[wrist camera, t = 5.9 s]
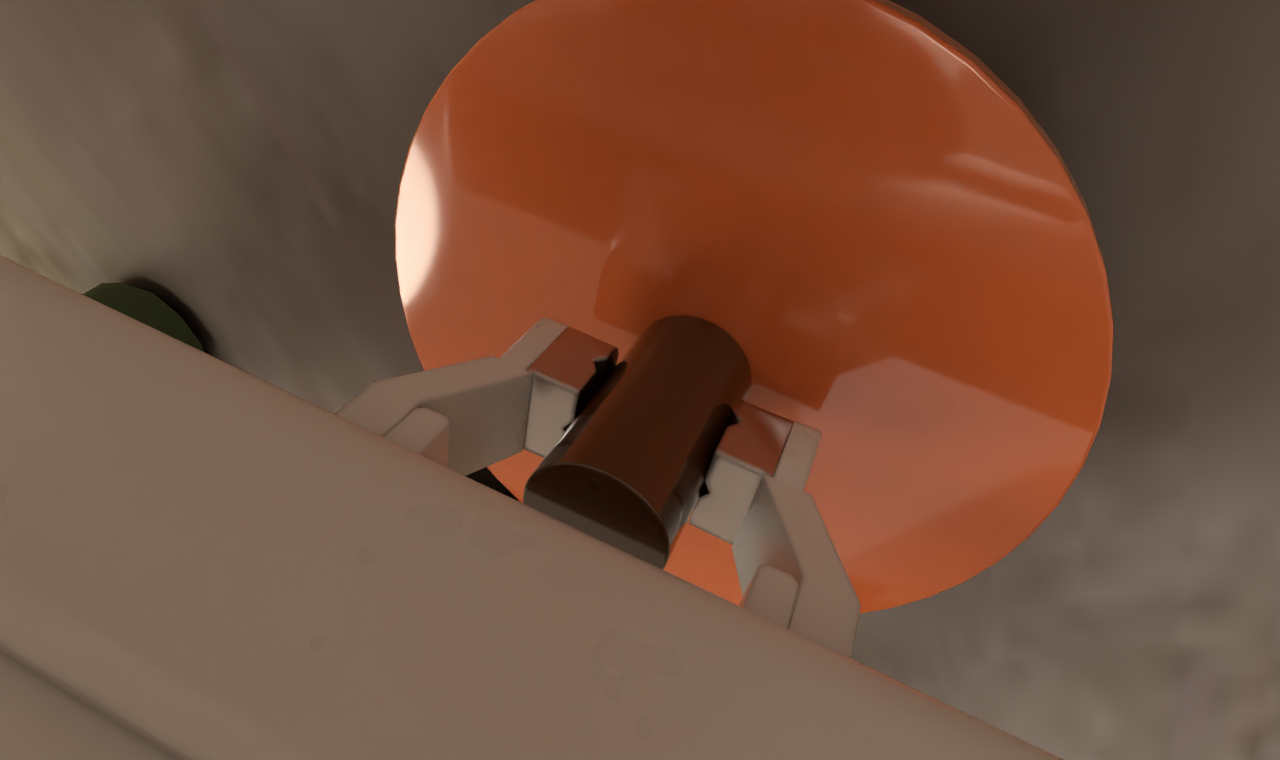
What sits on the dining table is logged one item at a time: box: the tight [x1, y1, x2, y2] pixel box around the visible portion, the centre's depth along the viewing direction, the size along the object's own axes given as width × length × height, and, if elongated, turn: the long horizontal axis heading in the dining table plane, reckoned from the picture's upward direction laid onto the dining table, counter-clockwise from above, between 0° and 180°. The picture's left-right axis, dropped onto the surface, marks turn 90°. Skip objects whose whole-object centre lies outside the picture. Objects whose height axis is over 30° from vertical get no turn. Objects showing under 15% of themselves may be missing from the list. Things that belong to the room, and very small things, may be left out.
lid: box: [395, 0, 1114, 614], centre depth 13 cm, size 14×14×6 cm
